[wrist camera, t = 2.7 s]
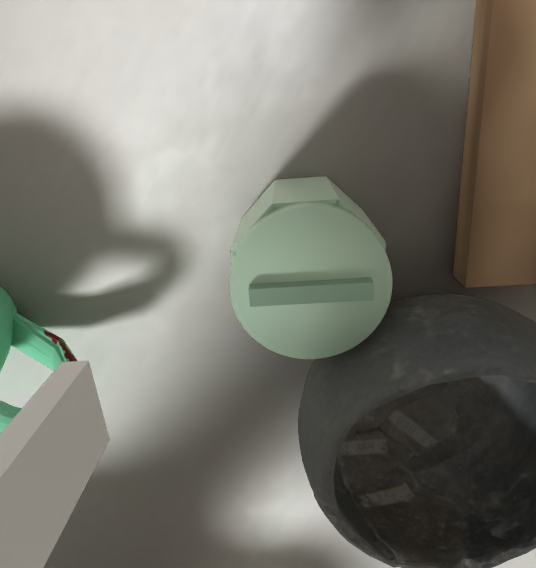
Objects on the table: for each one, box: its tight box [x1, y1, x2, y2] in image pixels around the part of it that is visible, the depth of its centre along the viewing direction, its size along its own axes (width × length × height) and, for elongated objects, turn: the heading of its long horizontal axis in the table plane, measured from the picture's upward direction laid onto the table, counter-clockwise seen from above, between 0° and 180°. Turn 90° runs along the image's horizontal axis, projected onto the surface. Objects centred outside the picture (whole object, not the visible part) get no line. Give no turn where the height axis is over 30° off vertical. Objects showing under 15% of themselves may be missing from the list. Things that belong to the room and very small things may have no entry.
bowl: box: [298, 294, 536, 568], centre depth 25 cm, size 15×15×10 cm
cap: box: [229, 176, 393, 359], centre depth 23 cm, size 7×7×9 cm
